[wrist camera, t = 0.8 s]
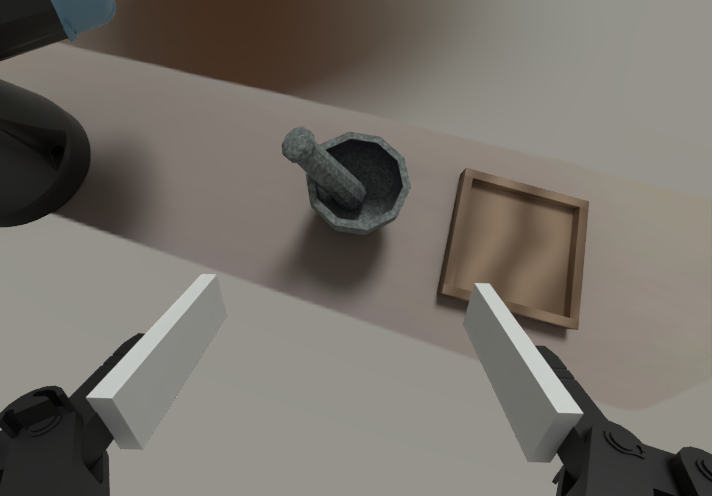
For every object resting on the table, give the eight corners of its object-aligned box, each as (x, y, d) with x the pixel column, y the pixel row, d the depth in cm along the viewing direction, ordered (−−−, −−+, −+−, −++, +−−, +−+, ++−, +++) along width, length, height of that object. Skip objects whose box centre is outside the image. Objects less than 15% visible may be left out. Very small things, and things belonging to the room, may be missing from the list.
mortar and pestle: (399, 175, 33) (433, 104, 21) (391, 250, 31) (423, 218, 19) (307, 160, 33) (290, 80, 21) (292, 236, 31) (264, 193, 19)
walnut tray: (437, 293, 30) (442, 293, 29) (460, 173, 34) (466, 167, 32) (566, 328, 31) (578, 329, 29) (578, 206, 34) (588, 201, 32)
